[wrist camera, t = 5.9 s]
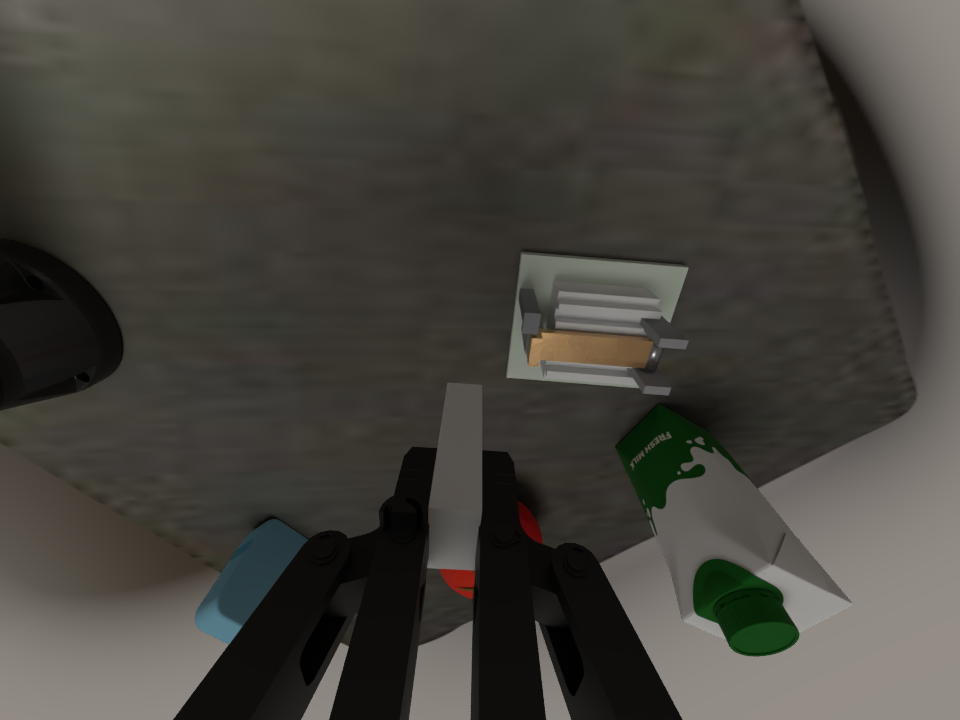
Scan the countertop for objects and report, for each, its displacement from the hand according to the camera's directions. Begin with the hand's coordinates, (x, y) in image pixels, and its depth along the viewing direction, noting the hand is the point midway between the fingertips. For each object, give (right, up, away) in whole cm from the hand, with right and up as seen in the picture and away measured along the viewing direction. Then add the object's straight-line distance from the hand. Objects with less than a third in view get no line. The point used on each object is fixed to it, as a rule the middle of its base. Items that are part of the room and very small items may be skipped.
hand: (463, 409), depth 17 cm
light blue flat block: (-25, -23, +35) cm, 49 cm away
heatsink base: (+11, +6, +18) cm, 22 cm away
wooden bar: (+10, +3, +14) cm, 17 cm away
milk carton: (+21, -6, +24) cm, 33 cm away
